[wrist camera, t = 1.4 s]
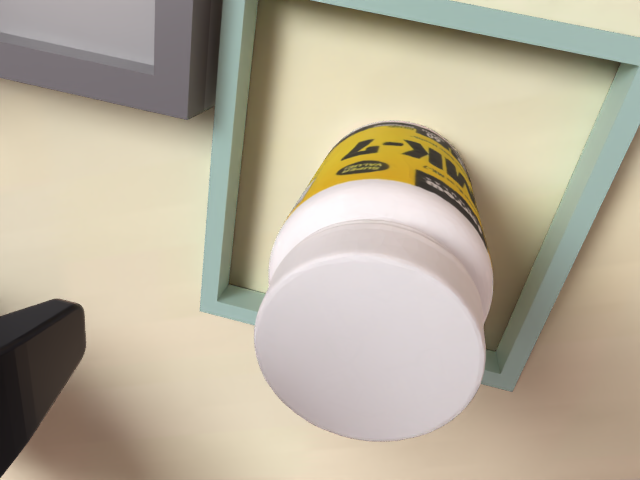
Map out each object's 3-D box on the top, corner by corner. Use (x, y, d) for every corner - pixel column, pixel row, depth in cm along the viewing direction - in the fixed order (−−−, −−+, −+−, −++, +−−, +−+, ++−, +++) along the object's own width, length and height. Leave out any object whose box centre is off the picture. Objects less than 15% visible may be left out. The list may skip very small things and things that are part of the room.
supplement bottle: (496, 149, 15) (576, 301, 7) (432, 276, 17) (442, 494, 9) (344, 94, 15) (268, 187, 7) (300, 227, 17) (207, 405, 9)
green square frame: (506, 368, 18) (512, 392, 17) (212, 293, 19) (199, 311, 18) (656, 41, 13) (677, 44, 12) (241, -40, 14) (226, -44, 13)
